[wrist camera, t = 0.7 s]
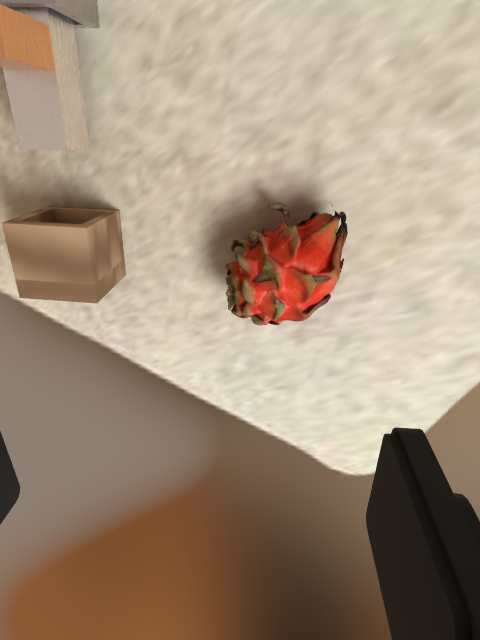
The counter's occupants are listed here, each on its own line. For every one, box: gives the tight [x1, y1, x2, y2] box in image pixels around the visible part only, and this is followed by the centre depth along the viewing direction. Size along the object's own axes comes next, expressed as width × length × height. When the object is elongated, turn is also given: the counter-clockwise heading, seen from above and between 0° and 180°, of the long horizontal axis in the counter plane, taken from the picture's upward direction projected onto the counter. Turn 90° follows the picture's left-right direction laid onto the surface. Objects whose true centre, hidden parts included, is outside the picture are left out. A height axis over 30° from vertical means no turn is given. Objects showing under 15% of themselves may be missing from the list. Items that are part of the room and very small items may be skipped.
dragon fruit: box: [226, 203, 347, 325], centre depth 32 cm, size 8×8×12 cm
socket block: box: [2, 207, 126, 303], centre depth 33 cm, size 6×6×7 cm
